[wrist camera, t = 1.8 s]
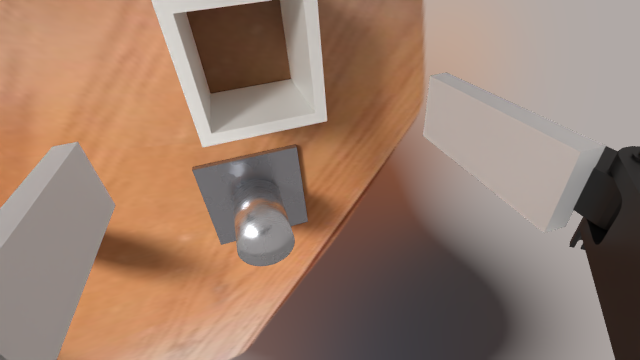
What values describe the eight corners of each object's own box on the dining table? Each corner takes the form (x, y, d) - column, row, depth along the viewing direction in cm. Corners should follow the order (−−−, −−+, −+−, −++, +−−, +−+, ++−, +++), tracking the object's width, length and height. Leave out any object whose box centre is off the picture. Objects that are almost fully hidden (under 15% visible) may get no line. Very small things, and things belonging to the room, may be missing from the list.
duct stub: (192, 167, 30) (189, 218, 24) (295, 144, 32) (315, 186, 26) (221, 240, 36) (223, 297, 30) (306, 218, 38) (325, 266, 32)
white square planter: (166, -13, 22) (150, -2, 16) (286, -27, 24) (315, -23, 17) (203, 104, 27) (202, 147, 21) (300, 86, 29) (327, 121, 22)
